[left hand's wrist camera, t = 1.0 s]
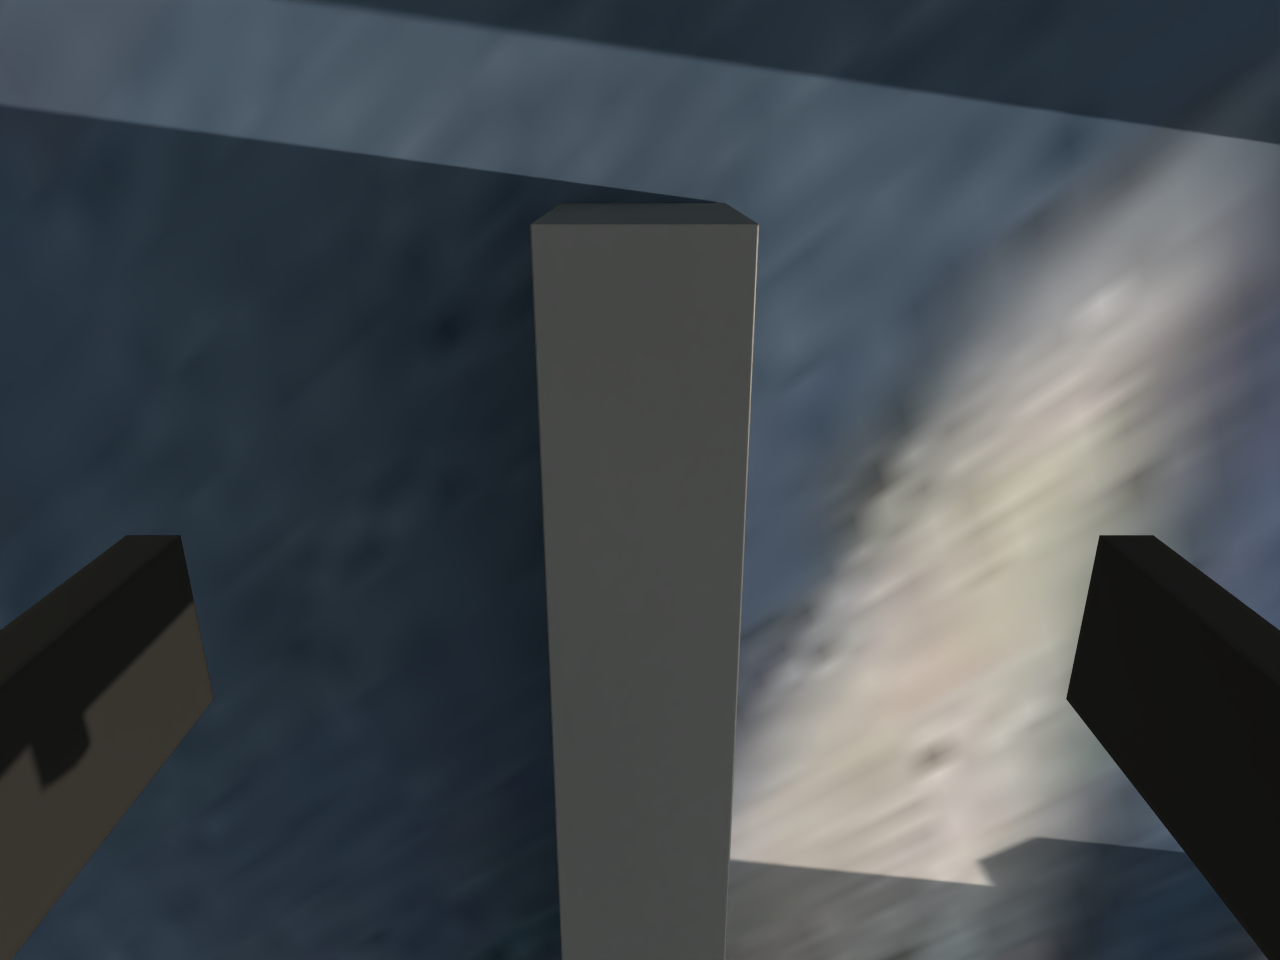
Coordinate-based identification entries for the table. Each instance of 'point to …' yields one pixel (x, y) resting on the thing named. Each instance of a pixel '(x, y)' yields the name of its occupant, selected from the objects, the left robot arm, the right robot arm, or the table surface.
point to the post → (643, 561)
